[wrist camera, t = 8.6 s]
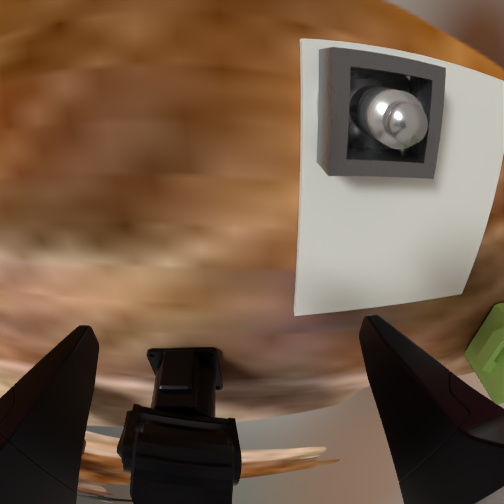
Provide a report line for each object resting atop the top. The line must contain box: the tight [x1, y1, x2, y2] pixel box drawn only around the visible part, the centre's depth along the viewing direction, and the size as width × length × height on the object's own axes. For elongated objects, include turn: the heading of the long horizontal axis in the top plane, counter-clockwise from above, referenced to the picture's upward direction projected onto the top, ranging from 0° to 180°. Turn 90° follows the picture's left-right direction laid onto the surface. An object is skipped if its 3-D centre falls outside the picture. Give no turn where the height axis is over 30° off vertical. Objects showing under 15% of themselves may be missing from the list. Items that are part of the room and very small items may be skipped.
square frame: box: [316, 47, 446, 179], centre depth 15 cm, size 7×7×2 cm
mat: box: [294, 39, 504, 316], centre depth 20 cm, size 20×17×1 cm
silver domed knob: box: [317, 68, 428, 151], centre depth 14 cm, size 6×6×5 cm
